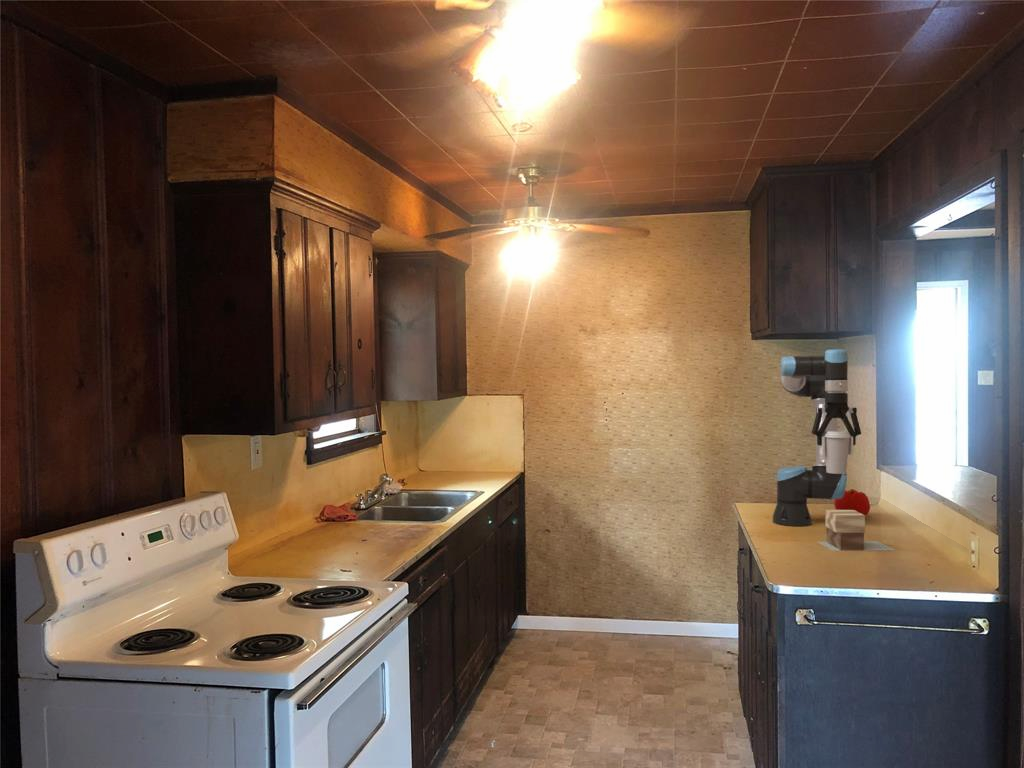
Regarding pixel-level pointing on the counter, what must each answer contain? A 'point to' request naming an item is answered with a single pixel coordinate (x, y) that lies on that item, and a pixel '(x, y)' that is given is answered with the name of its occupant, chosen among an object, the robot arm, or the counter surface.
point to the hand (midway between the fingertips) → (836, 454)
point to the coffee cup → (836, 451)
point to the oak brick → (845, 521)
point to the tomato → (853, 502)
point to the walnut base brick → (846, 540)
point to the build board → (867, 546)
